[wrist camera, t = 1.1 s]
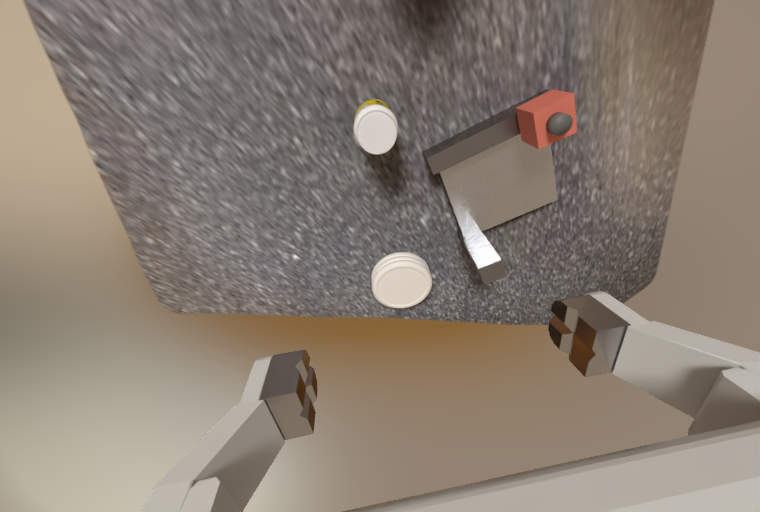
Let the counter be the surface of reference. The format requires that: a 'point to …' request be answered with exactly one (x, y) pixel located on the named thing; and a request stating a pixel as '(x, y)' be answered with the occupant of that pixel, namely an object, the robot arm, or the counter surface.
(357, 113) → the supplement bottle
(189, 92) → the counter surface
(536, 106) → the handle
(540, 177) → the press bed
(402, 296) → the coaster
